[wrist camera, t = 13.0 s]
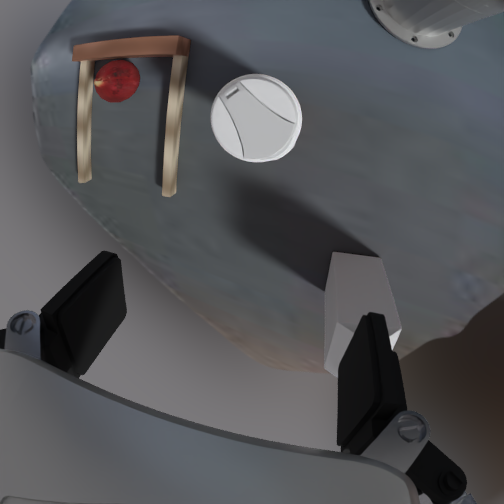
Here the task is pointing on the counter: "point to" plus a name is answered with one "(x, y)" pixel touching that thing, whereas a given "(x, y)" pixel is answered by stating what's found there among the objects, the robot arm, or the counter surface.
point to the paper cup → (256, 118)
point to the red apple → (117, 81)
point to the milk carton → (355, 302)
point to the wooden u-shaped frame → (180, 53)
